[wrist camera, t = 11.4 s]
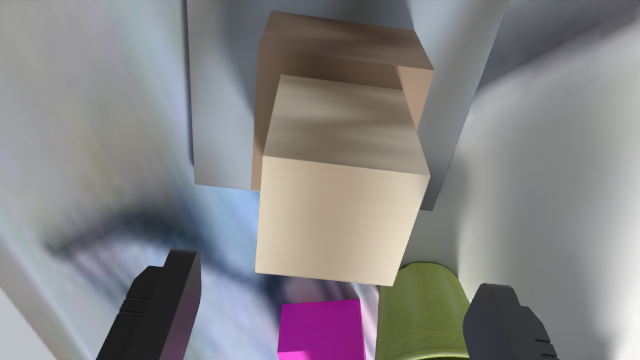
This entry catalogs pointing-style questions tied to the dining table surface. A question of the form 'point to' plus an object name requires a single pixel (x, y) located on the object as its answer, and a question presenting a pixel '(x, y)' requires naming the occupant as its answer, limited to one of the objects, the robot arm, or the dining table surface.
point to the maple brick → (338, 182)
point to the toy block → (321, 331)
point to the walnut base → (239, 70)
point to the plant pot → (422, 315)
